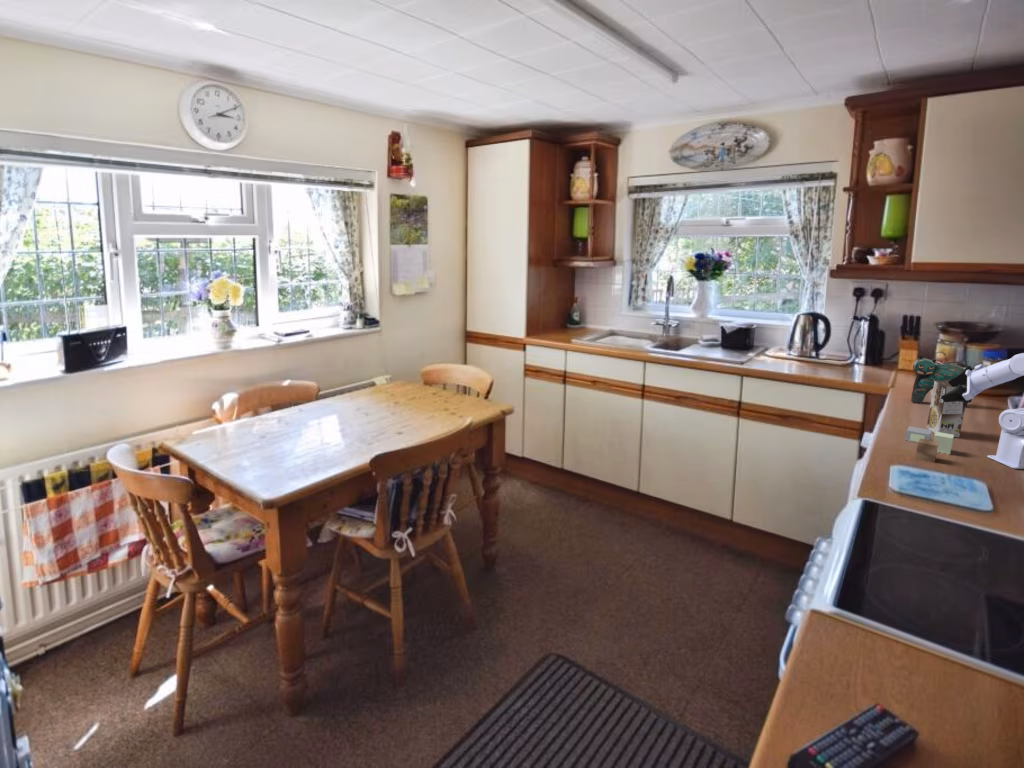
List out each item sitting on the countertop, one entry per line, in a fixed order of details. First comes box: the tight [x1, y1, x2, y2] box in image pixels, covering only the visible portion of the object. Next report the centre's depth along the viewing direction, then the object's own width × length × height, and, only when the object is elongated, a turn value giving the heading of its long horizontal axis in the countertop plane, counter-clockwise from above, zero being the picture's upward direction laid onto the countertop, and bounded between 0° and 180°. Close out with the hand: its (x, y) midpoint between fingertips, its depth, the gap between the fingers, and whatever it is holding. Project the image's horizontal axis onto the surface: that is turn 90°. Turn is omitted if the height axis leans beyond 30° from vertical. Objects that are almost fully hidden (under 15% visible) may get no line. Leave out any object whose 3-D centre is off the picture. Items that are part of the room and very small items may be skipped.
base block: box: [904, 425, 933, 443], centre depth 194 cm, size 6×6×4 cm
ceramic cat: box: [910, 351, 968, 408], centre depth 237 cm, size 20×6×20 cm, turn 73°
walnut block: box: [915, 438, 938, 463], centre depth 178 cm, size 4×4×5 cm
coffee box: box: [926, 381, 967, 438], centre depth 202 cm, size 9×6×16 cm
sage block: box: [932, 432, 955, 455], centre depth 185 cm, size 4×4×5 cm
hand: (946, 391), depth 191 cm, fingers open, 7 cm apart
